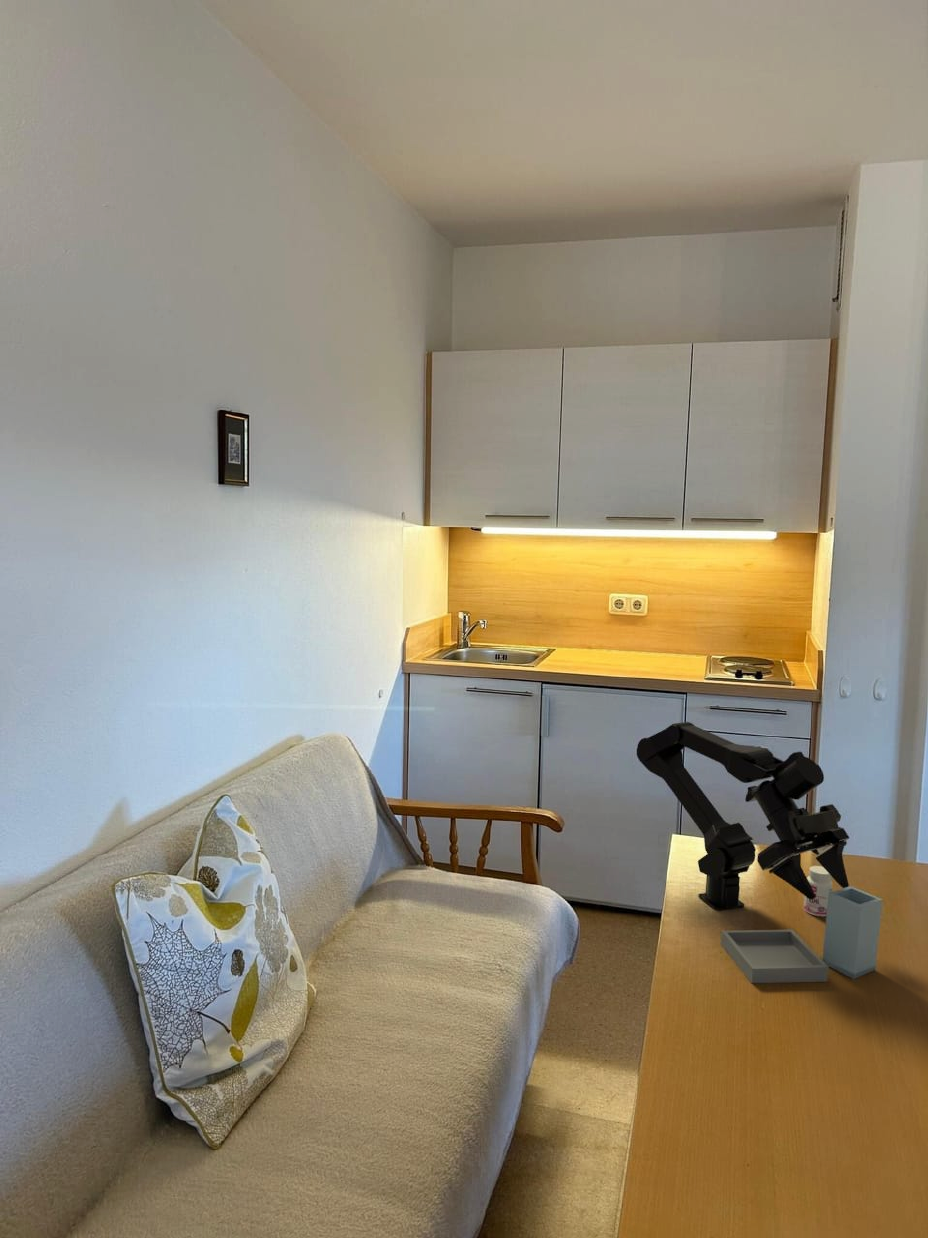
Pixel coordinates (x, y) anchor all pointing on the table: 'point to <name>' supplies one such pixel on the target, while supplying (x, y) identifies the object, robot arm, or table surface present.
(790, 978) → the shallow crate
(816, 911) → the pill bottle
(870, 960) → the slim crate
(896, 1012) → the table surface
